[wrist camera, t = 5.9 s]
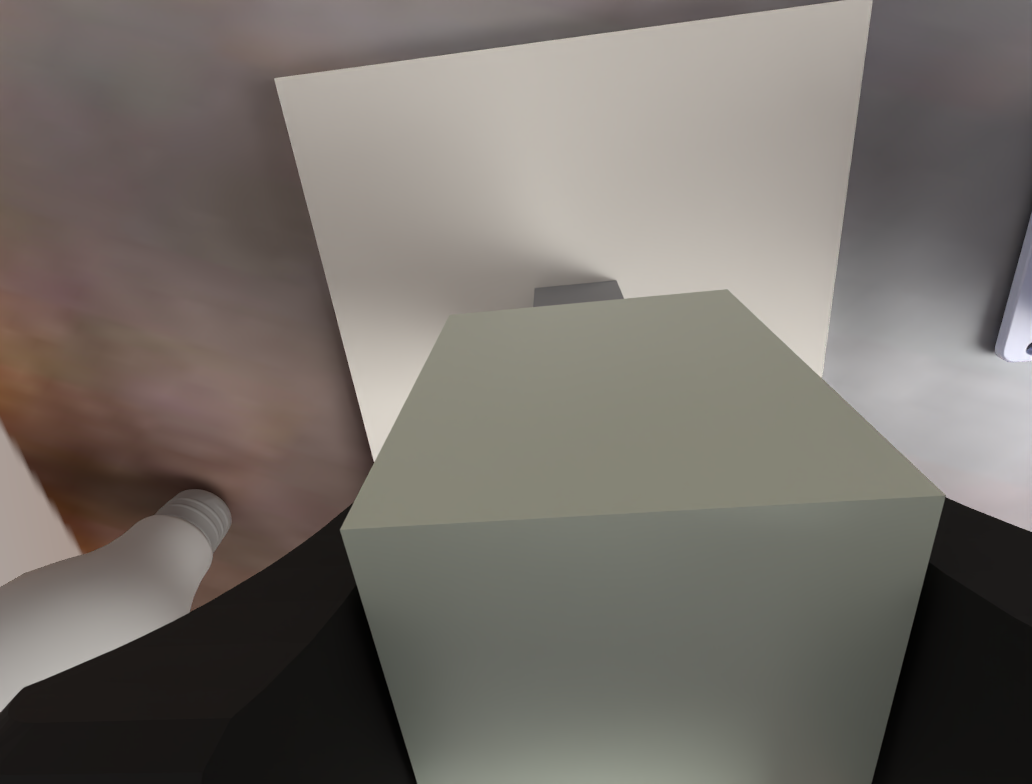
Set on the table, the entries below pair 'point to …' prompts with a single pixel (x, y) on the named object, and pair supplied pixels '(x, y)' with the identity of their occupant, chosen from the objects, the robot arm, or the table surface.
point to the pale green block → (637, 553)
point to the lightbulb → (108, 592)
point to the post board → (581, 180)
